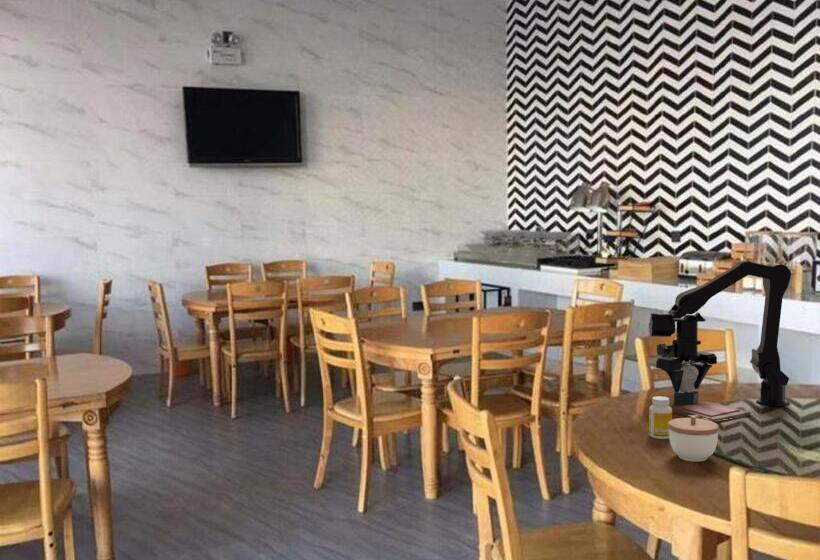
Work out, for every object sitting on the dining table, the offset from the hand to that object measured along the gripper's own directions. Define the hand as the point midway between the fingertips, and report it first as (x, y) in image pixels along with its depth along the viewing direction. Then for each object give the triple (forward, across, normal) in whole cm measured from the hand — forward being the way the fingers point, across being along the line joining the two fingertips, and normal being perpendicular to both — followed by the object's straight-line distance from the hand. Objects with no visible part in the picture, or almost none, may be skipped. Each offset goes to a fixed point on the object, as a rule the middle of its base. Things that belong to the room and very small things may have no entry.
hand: (686, 390), depth 226 cm
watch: (+4, 0, 0) cm, 4 cm away
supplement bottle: (+4, +31, +20) cm, 37 cm away
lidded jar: (+4, +37, +36) cm, 52 cm away
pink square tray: (+4, +4, +12) cm, 13 cm away
